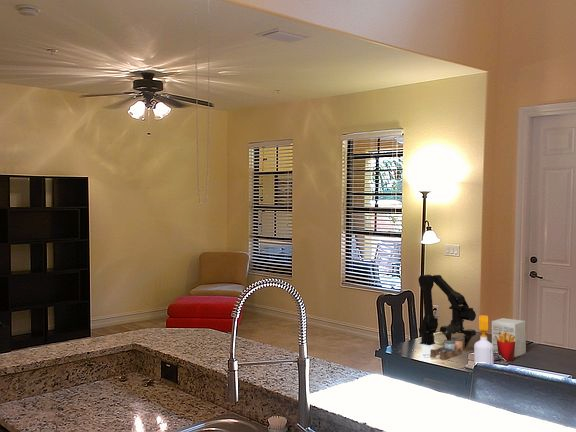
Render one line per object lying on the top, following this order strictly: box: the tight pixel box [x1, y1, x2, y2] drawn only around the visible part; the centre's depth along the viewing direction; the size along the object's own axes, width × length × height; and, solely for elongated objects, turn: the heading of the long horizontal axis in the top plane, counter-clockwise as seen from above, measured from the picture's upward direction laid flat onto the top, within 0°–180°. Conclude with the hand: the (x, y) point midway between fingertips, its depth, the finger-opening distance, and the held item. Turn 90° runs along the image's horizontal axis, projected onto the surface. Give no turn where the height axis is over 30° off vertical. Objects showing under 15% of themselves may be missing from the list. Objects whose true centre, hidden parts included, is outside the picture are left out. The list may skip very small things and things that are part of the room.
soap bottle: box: [473, 314, 495, 364], centre depth 286 cm, size 9×9×25 cm
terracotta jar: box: [451, 336, 464, 353], centre depth 316 cm, size 6×6×7 cm
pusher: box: [439, 346, 452, 354], centre depth 305 cm, size 7×6×4 cm
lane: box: [429, 346, 462, 361], centre depth 307 cm, size 17×9×4 cm, turn 135°
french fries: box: [495, 331, 515, 362], centre depth 295 cm, size 9×8×15 cm
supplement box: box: [491, 317, 527, 358], centre depth 311 cm, size 13×13×18 cm
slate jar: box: [443, 339, 455, 351], centre depth 310 cm, size 6×6×7 cm
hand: (457, 346), depth 316 cm, fingers open, 9 cm apart
